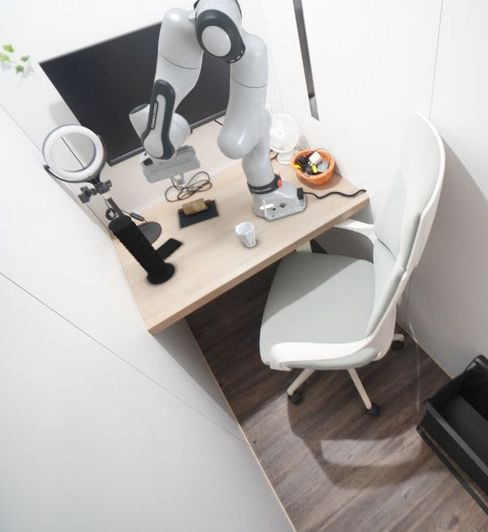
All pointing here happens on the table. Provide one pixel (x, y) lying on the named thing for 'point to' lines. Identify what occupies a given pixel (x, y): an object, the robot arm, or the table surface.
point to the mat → (198, 216)
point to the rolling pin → (194, 206)
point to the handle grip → (141, 249)
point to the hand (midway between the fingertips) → (181, 183)
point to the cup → (246, 233)
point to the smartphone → (168, 247)
